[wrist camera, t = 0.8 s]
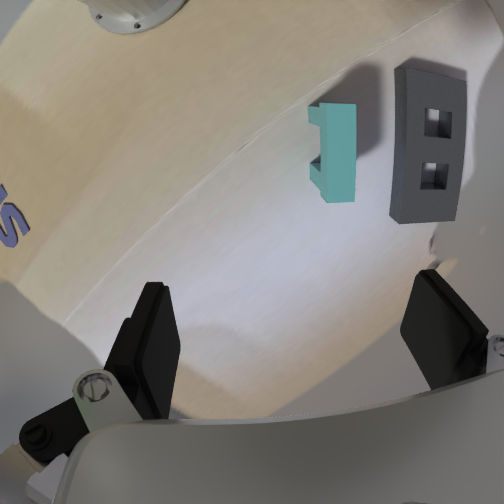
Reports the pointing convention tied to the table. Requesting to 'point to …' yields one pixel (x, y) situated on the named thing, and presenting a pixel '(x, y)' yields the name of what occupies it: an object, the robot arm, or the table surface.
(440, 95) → the gray slotted base plate
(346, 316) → the table surface
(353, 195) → the clip
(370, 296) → the table surface
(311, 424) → the robot arm
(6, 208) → the signage
